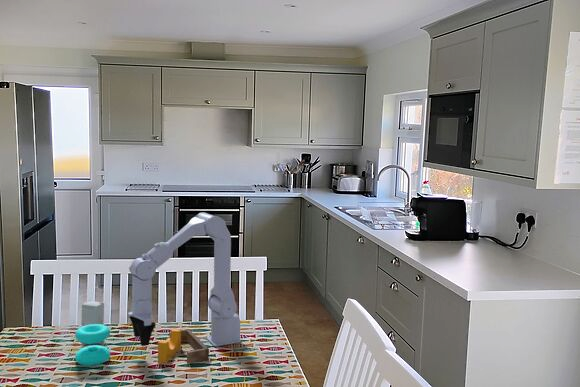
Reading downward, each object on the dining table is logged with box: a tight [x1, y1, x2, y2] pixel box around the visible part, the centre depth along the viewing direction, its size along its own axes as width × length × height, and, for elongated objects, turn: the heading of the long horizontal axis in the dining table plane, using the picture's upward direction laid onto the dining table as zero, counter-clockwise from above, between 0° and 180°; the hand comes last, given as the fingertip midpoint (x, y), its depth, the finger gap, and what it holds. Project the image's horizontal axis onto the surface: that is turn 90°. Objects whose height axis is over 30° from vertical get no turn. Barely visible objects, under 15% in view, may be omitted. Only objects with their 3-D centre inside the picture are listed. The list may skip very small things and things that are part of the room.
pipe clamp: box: [157, 328, 182, 364], centre depth 172 cm, size 12×4×6 cm, turn 169°
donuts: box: [74, 324, 111, 367], centre depth 166 cm, size 10×10×10 cm
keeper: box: [168, 328, 210, 364], centre depth 176 cm, size 7×19×4 cm, turn 29°
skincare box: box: [80, 300, 105, 327], centre depth 183 cm, size 6×4×12 cm
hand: (141, 340), depth 168 cm, fingers open, 7 cm apart
